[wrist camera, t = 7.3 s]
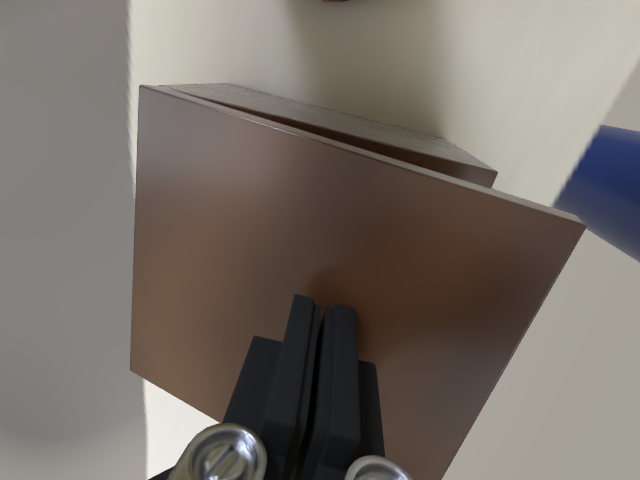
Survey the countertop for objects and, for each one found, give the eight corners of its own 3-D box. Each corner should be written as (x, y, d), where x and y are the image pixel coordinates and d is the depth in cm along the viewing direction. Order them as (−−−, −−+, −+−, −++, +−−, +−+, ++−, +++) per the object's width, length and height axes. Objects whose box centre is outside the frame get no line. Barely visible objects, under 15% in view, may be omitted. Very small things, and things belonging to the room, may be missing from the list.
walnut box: (445, 138, 17) (498, 172, 11) (379, 318, 21) (392, 414, 15) (226, 82, 17) (157, 84, 11) (202, 276, 21) (143, 356, 15)
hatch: (578, 215, 8) (588, 225, 7) (414, 510, 12) (410, 534, 11) (160, 85, 11) (138, 84, 10) (145, 358, 15) (129, 370, 14)
